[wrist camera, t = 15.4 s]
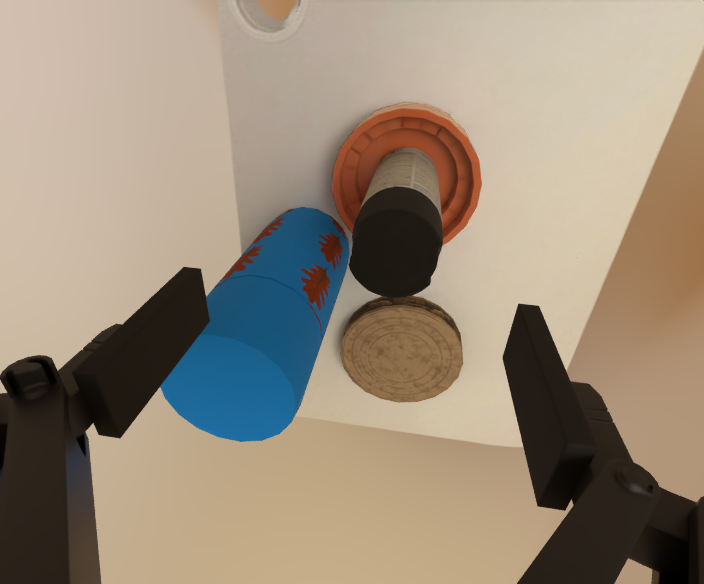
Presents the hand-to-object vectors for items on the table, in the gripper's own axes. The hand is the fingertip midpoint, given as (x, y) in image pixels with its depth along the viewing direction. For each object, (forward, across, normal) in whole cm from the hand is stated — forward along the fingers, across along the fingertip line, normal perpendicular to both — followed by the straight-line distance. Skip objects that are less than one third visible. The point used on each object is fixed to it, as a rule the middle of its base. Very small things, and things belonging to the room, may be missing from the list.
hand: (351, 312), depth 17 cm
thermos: (+31, -10, -13) cm, 35 cm away
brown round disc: (+31, +3, -26) cm, 40 cm away
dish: (+31, +1, -3) cm, 31 cm away
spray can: (+31, +1, -3) cm, 31 cm away
